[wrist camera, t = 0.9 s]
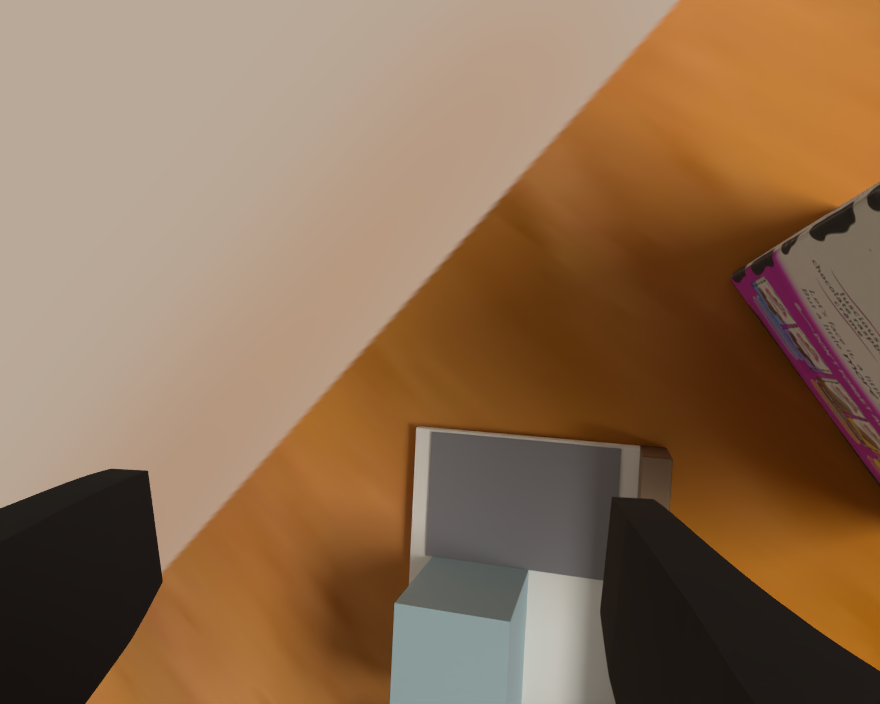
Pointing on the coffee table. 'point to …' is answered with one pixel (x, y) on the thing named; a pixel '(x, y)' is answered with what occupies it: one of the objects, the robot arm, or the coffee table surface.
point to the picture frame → (535, 535)
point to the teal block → (460, 635)
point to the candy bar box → (829, 314)
